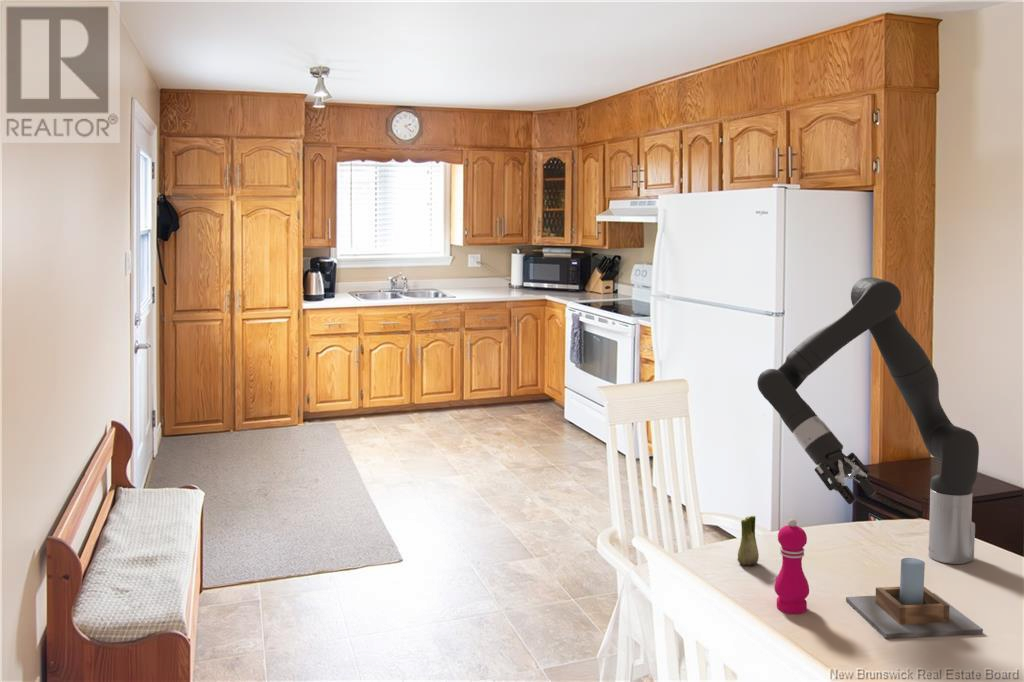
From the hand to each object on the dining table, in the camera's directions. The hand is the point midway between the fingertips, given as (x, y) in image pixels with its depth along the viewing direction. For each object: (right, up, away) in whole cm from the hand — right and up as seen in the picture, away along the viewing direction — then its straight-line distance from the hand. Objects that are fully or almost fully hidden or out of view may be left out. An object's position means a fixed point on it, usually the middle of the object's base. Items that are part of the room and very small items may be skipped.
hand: (863, 498), depth 191 cm
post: (+5, -22, -12) cm, 25 cm away
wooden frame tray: (+5, -23, -11) cm, 26 cm away
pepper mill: (-18, -23, -6) cm, 30 cm away
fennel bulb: (-20, -20, +20) cm, 35 cm away
